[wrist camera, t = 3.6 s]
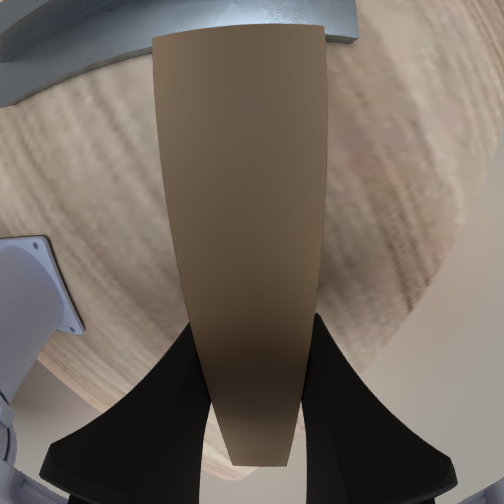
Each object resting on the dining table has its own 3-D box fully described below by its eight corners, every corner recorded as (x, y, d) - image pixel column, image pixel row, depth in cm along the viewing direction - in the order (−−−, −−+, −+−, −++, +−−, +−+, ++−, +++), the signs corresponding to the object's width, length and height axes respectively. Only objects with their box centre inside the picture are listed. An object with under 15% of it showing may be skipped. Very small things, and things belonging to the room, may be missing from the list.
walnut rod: (238, 410, 16) (232, 465, 12) (200, 64, 7) (152, 38, 4) (285, 410, 16) (286, 466, 12) (298, 59, 7) (324, 25, 4)
